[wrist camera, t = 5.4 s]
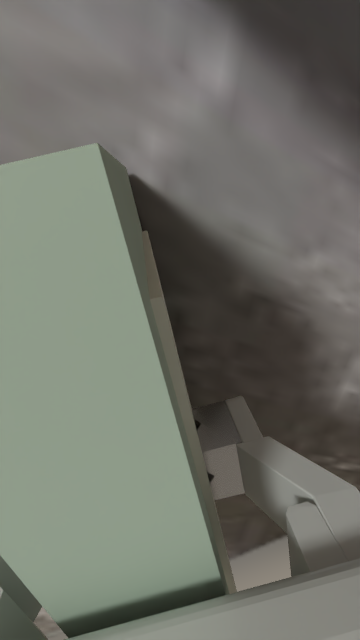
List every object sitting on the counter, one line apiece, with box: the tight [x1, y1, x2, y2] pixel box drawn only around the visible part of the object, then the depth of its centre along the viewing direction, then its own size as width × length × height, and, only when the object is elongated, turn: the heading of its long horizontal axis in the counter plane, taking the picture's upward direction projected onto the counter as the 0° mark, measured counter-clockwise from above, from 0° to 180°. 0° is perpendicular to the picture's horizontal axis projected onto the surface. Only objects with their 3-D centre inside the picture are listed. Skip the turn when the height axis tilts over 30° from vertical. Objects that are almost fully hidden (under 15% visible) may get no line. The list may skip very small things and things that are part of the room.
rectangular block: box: [0, 143, 237, 638], centre depth 9 cm, size 3×14×8 cm, turn 12°
